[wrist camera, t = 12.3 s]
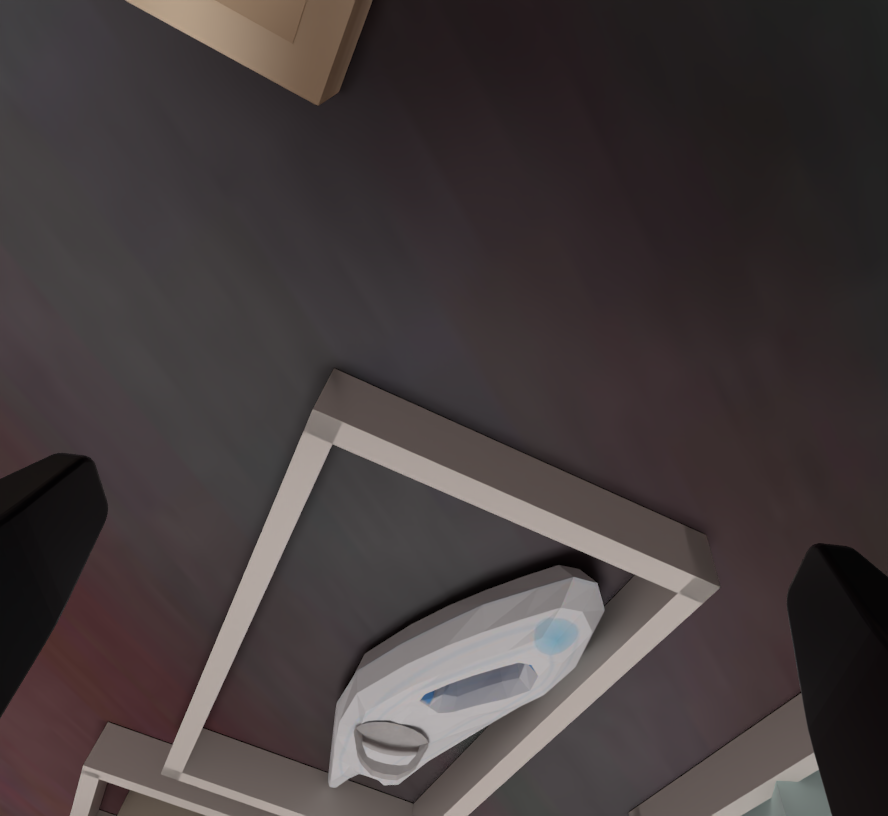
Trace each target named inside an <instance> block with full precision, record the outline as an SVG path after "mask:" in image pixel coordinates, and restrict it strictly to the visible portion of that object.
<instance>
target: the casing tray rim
mask: <svg viewBox="0 0 888 816" xmlns="http://www.w3.org/2000/svg"><path fill="white" fill-rule="evenodd" d="M332 444H333V445H336V446H338V447H340V448H343V449H345V450H347V451H350V452H352V453H354V454H357V455H359V456H361V457H364V458H366V459H368V460H371V461H373V462H375V463H377V464H380V465H382V466H384V467H387V468H389V469H391V470H394V471H396V472H398V473H401V474H403V475H405V476H408V477H410V478H412V479H415V480H417V481H419V482H421V483H424V484H426V485H428V486H431V487H433V488H435V489H438V490H440V491H442V492H445V493H447V494H449V495H452V496H454V497H456V498H459V499H461V500H463V501H465V502H468V503H470V504H472V505H475V506H477V507H479V508H482V509H484V510H486V511H489V512H491V513H493V514H496V515H498V516H500V517H503V518H505V519H507V520H509V521H512V522H514V523H516V524H519V525H521V526H523V527H526V528H528V529H530V530H533V531H535V532H537V533H540V534H542V535H544V536H547V537H549V538H551V539H554V540H556V541H558V542H560V543H563V544H565V545H567V546H570V547H572V548H574V549H577V550H579V551H581V552H584V553H586V554H588V555H591V556H593V557H595V558H598V559H600V560H602V561H604V562H607V563H609V564H611V565H614V566H616V567H618V568H621V569H623V570H625V571H628V572H630V573H632V574H635V576H634V577H633V578H632V579H631V580H630V581H629V582H628V583H627V584H626V585H625V586H624V587H623V588H622V589H621V590H620V591H619V592H618V593H617V594H616V595H615V596H614V597H613V598H612V599H611V600H610V601H609V602H608V603H607V604H606V605H605V607H604V609H605V611H604V613H603V615H602V617H601V619H600V621H599V623H598V625H597V626H596V628H595V630H594V632H593V634H592V636H591V638H590V640H589V642H588V644H587V646H586V648H585V650H584V652H583V654H582V656H581V658H580V660H579V662H578V663H577V665H576V667H575V668H574V669H573V670H572V671H571V672H570V673H568V674H567V675H566V676H565V677H564V678H563V679H562V680H561V681H559V682H558V683H557V684H556V685H555V686H554V687H553V688H552V689H550V690H549V691H548V692H547V693H546V694H545V695H543V696H541V697H539V698H537V699H535V700H533V701H531V702H529V703H527V704H525V705H523V706H521V707H519V708H517V709H515V710H514V711H512V712H510V713H508V714H507V715H505V716H503V717H502V718H500V719H498V720H496V721H495V722H493V723H491V724H490V725H489V726H488V727H487V728H486V729H485V730H484V731H483V732H482V734H481V735H480V736H479V737H478V738H477V739H476V740H475V741H474V742H473V743H472V744H471V745H470V746H469V747H468V748H467V749H466V750H465V751H464V752H463V753H462V754H461V755H460V756H459V757H458V758H457V759H456V760H455V761H454V762H453V763H452V764H451V766H450V767H449V768H448V769H447V770H446V771H445V772H444V773H443V774H442V775H441V776H440V777H439V778H438V779H437V780H436V781H435V782H434V783H433V784H432V785H431V786H430V787H429V788H428V789H427V790H426V791H425V792H424V793H423V794H422V795H421V797H420V798H419V799H418V800H417V801H416V802H415V803H414V804H413V803H410V802H407V801H404V800H402V799H399V798H396V797H393V796H391V795H388V794H385V793H382V792H379V791H377V790H374V789H371V788H368V787H365V786H363V785H360V784H357V783H354V782H352V781H349V780H346V781H345V782H343V783H342V784H341V785H339V786H338V787H336V788H332V787H330V786H329V783H328V774H329V773H327V772H324V771H321V770H318V769H315V768H313V767H310V766H307V765H304V764H301V763H299V762H296V761H293V760H290V759H288V758H285V757H282V756H279V755H276V754H274V753H271V752H268V751H265V750H262V749H260V748H257V747H254V746H251V745H249V744H246V743H243V742H240V741H237V740H235V739H232V738H229V737H226V736H223V735H221V734H218V733H215V732H212V731H210V730H207V729H204V728H203V726H204V723H205V721H206V719H207V717H208V715H209V713H210V710H211V708H212V706H213V704H214V702H215V699H216V697H217V695H218V693H219V691H220V689H221V686H222V684H223V682H224V680H225V678H226V675H227V673H228V671H229V669H230V667H231V664H232V662H233V660H234V658H235V656H236V654H237V651H238V649H239V647H240V645H241V643H242V640H243V638H244V636H245V634H246V632H247V630H248V627H249V625H250V623H251V621H252V619H253V616H254V614H255V612H256V610H257V608H258V606H259V603H260V601H261V599H262V597H263V595H264V592H265V590H266V588H267V586H268V584H269V581H270V579H271V577H272V575H273V573H274V571H275V568H276V566H277V564H278V562H279V560H280V557H281V555H282V553H283V551H284V549H285V547H286V544H287V542H288V540H289V538H290V536H291V533H292V531H293V529H294V527H295V525H296V523H297V520H298V518H299V516H300V514H301V512H302V509H303V507H304V505H305V503H306V501H307V498H308V496H309V494H310V492H311V490H312V488H313V485H314V483H315V481H316V479H317V477H318V474H319V472H320V470H321V468H322V466H323V464H324V461H325V459H326V457H327V455H328V453H329V450H330V448H331V446H332ZM719 588H720V583H719V580H718V576H717V572H716V569H715V565H714V561H713V558H712V554H711V550H710V547H709V543H708V539H707V536H706V535H705V534H702V533H700V532H698V531H696V530H694V529H691V528H689V527H687V526H685V525H682V524H680V523H678V522H676V521H673V520H671V519H669V518H667V517H665V516H662V515H660V514H658V513H656V512H653V511H651V510H649V509H647V508H644V507H642V506H640V505H638V504H636V503H633V502H631V501H629V500H627V499H624V498H622V497H620V496H618V495H615V494H613V493H611V492H609V491H607V490H604V489H602V488H600V487H598V486H595V485H593V484H591V483H589V482H587V481H584V480H582V479H580V478H578V477H575V476H573V475H571V474H569V473H566V472H564V471H562V470H560V469H558V468H555V467H553V466H551V465H549V464H546V463H544V462H542V461H540V460H537V459H535V458H533V457H531V456H529V455H526V454H524V453H522V452H520V451H517V450H515V449H513V448H511V447H508V446H506V445H504V444H502V443H500V442H497V441H495V440H493V439H491V438H488V437H486V436H484V435H482V434H479V433H477V432H475V431H473V430H471V429H468V428H466V427H464V426H462V425H459V424H457V423H455V422H453V421H451V420H448V419H446V418H444V417H442V416H439V415H437V414H435V413H433V412H430V411H428V410H426V409H424V408H422V407H419V406H417V405H415V404H413V403H410V402H408V401H406V400H404V399H401V398H399V397H397V396H395V395H393V394H390V393H388V392H386V391H384V390H381V389H379V388H377V387H375V386H372V385H370V384H368V383H366V382H364V381H361V380H359V379H357V378H355V377H352V376H350V375H348V374H346V373H343V372H341V371H339V370H337V369H335V368H334V369H333V371H332V373H331V375H330V377H329V379H328V381H327V383H326V384H325V386H324V388H323V390H322V392H321V394H320V396H319V398H318V400H317V402H316V404H315V406H314V408H313V410H312V412H311V415H310V417H309V420H308V422H307V424H306V427H305V429H304V431H303V434H302V436H301V439H300V441H299V443H298V446H297V448H296V451H295V453H294V455H293V458H292V460H291V463H290V465H289V467H288V470H287V472H286V475H285V477H284V479H283V482H282V484H281V487H280V489H279V491H278V494H277V496H276V499H275V501H274V503H273V506H272V508H271V511H270V513H269V515H268V518H267V520H266V523H265V525H264V527H263V530H262V532H261V535H260V537H259V539H258V542H257V544H256V547H255V549H254V551H253V554H252V556H251V559H250V561H249V563H248V566H247V568H246V571H245V573H244V575H243V578H242V580H241V583H240V585H239V587H238V590H237V592H236V594H235V597H234V599H233V602H232V604H231V606H230V609H229V611H228V614H227V616H226V618H225V621H224V623H223V626H222V628H221V630H220V633H219V635H218V638H217V640H216V642H215V645H214V647H213V650H212V652H211V654H210V657H209V659H208V662H207V664H206V666H205V669H204V671H203V674H202V676H201V678H200V681H199V683H198V686H197V688H196V690H195V693H194V695H193V698H192V700H191V702H190V705H189V707H188V710H187V712H186V714H185V717H184V719H183V722H182V724H181V726H180V729H179V731H178V734H177V736H176V738H175V741H174V743H173V746H172V748H171V750H170V753H169V755H168V757H167V760H166V762H165V765H164V767H163V769H162V772H161V775H164V776H167V777H170V778H173V779H175V780H178V781H181V782H184V783H187V784H190V785H193V786H196V787H199V788H201V789H204V790H207V791H210V792H213V793H216V794H219V795H222V796H225V797H227V798H230V799H233V800H236V801H239V802H242V803H245V804H248V805H251V806H253V807H256V808H259V809H262V810H265V811H268V812H271V813H274V814H277V815H279V816H468V815H469V814H470V813H471V812H472V811H473V810H474V809H475V808H477V807H478V806H479V805H480V804H481V803H482V802H483V801H484V800H485V799H487V798H488V797H489V796H490V795H491V794H492V793H493V792H494V791H495V790H497V789H498V788H499V787H500V786H501V785H502V784H503V783H504V782H505V781H506V780H508V779H509V778H510V777H511V776H512V775H513V774H514V773H515V772H516V771H518V770H519V769H520V768H521V767H522V766H523V765H524V764H525V763H526V762H528V761H529V760H530V759H531V758H532V757H533V756H534V755H535V754H536V753H538V752H539V751H540V750H541V749H542V748H543V747H544V746H545V745H546V744H548V743H549V742H550V741H551V740H552V739H553V738H554V737H555V736H556V735H557V734H559V733H560V732H561V731H562V730H563V729H564V728H565V727H566V726H567V725H569V724H570V723H571V722H572V721H573V720H574V719H575V718H576V717H577V716H579V715H580V714H581V713H582V712H583V711H584V710H585V709H586V708H587V707H589V706H590V705H591V704H592V703H593V702H594V701H595V700H596V699H597V698H598V697H600V696H601V695H602V694H603V693H604V692H605V691H606V690H607V689H608V688H610V687H611V686H612V685H613V684H614V683H615V682H616V681H617V680H618V679H620V678H621V677H622V676H623V675H624V674H625V673H626V672H627V671H628V670H630V669H631V668H632V667H633V666H634V665H635V664H636V663H637V662H638V661H639V660H641V659H642V658H643V657H644V656H645V655H646V654H647V653H648V652H649V651H651V650H652V649H653V648H654V647H655V646H656V645H657V644H658V643H659V642H661V641H662V640H663V639H664V638H665V637H666V636H667V635H668V634H669V633H671V632H672V631H673V630H674V629H675V628H676V627H677V626H678V625H679V624H681V623H682V622H683V621H684V620H685V619H686V618H687V617H688V616H689V615H690V614H692V613H693V612H694V611H695V610H696V609H697V608H698V607H699V606H700V605H702V604H703V603H704V602H705V601H706V600H707V599H708V598H709V597H710V596H712V595H713V594H714V593H715V592H716V591H717V590H718V589H719Z"/></svg>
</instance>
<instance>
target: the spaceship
mask: <svg viewBox="0 0 888 816" xmlns="http://www.w3.org/2000/svg"><path fill="white" fill-rule="evenodd" d="M604 611H605V609H604V605H603V602H602V598H601V594H600V591H599V587H598V583H597V582H595V581H594V580H593V579H591V578H590V577H589V576H588V575H586V574H585V573H584V572H582V571H581V570H580V569H577V568H572V567H567V566H562V565H557V566H554V567H551V568H548V569H545V570H542V571H539V572H536V573H532V574H529V575H526V576H523V577H521V578H518V579H515V580H512V581H510V582H507V583H504V584H501V585H498V586H496V587H493V588H490V589H487V590H485V591H482V592H480V593H478V594H475V595H473V596H470V597H468V598H466V599H463V600H461V601H458V602H456V603H454V604H451V605H449V606H447V607H445V608H443V609H441V610H439V611H437V612H435V613H433V614H431V615H429V616H427V617H425V618H423V619H421V620H419V621H417V622H415V623H413V624H411V625H409V626H408V627H406V628H405V629H403V630H401V631H400V632H398V633H397V634H395V635H393V636H392V637H390V638H389V639H387V640H386V641H384V642H382V643H381V644H379V645H378V646H376V647H374V648H373V649H371V650H370V651H368V652H367V653H365V654H364V656H363V658H362V660H361V662H360V664H359V666H358V668H357V670H356V672H355V674H354V676H353V678H352V680H351V681H350V683H349V684H348V686H347V687H346V689H345V691H344V692H343V694H342V695H341V697H340V698H339V700H338V702H337V705H336V711H335V718H334V727H333V737H332V746H331V755H330V764H329V774H328V783H329V786H330V787H332V788H336V787H338V786H339V785H341V784H342V783H343V782H345V781H346V780H348V779H349V778H351V777H353V776H355V775H358V774H362V775H365V776H368V777H371V778H374V779H376V780H379V781H380V782H381V783H382V784H383V785H398V784H400V783H401V782H402V781H403V780H405V779H406V778H407V777H409V776H410V775H411V774H412V773H414V772H415V771H416V770H417V769H419V768H420V767H421V766H423V765H424V764H425V763H426V762H428V761H429V760H431V759H433V758H434V757H436V756H438V755H439V754H441V753H443V752H444V751H446V750H448V749H449V748H451V747H453V746H454V745H456V744H458V743H459V742H461V741H463V740H464V739H466V738H468V737H469V736H471V735H473V734H474V733H476V732H478V731H479V730H481V729H483V728H484V727H486V726H488V725H490V724H491V723H493V722H495V721H496V720H498V719H500V718H502V717H503V716H505V715H507V714H508V713H510V712H512V711H514V710H515V709H517V708H519V707H521V706H523V705H525V704H527V703H529V702H531V701H533V700H535V699H537V698H539V697H541V696H543V695H545V694H546V693H547V692H548V691H549V690H550V689H552V688H553V687H554V686H555V685H556V684H557V683H558V682H559V681H561V680H562V679H563V678H564V677H565V676H566V675H567V674H568V673H570V672H571V671H572V670H573V669H574V668H575V667H576V665H577V663H578V662H579V660H580V658H581V656H582V654H583V652H584V650H585V648H586V646H587V644H588V642H589V640H590V638H591V636H592V634H593V632H594V630H595V628H596V626H597V625H598V623H599V621H600V619H601V617H602V615H603V613H604Z"/></svg>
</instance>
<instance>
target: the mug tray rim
mask: <svg viewBox="0 0 888 816" xmlns="http://www.w3.org/2000/svg"><path fill="white" fill-rule="evenodd" d="M172 746H173V745H172V744H169V743H166V742H163V741H160V740H157V739H155V738H152V737H149V736H146V735H143V734H140V733H138V732H135V731H132V730H129V729H126V728H123V727H121V726H118V725H115V724H112V723H109V722H108V723H107V725H106V726H105V728H104V730H103V732H102V733H101V735H100V737H99V739H98V740H97V742H96V744H95V746H94V747H93V749H92V751H91V753H90V754H89V756H88V758H87V760H86V761H85V763H84V765H83V768H82V772H81V776H80V780H79V783H78V787H77V791H76V795H75V799H74V803H73V806H72V810H71V814H70V816H116V815H113V814H110V813H107V812H104V811H101V810H99V808H100V805H101V801H102V798H103V795H104V792H105V789H106V786H107V783H108V782H109V783H112V784H115V785H118V786H120V787H123V788H126V789H129V790H132V791H135V792H138V793H141V794H144V795H147V796H150V797H153V798H156V799H159V800H162V801H164V802H167V803H170V804H173V805H176V806H179V807H182V808H185V809H188V810H191V811H194V812H197V813H200V814H203V815H206V816H279V815H277V814H274V813H271V812H268V811H265V810H262V809H259V808H256V807H253V806H251V805H248V804H245V803H242V802H239V801H236V800H233V799H230V798H227V797H225V796H222V795H219V794H216V793H213V792H210V791H207V790H204V789H201V788H199V787H196V786H193V785H190V784H187V783H184V782H181V781H178V780H175V779H173V778H170V777H167V776H164V775H161V772H162V769H163V767H164V765H165V762H166V760H167V757H168V755H169V753H170V750H171V748H172Z"/></svg>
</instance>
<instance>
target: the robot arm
mask: <svg viewBox="0 0 888 816" xmlns="http://www.w3.org/2000/svg"><path fill="white" fill-rule="evenodd" d="M107 512H108V503H107V499H106V496H105V493H104V490H103V487H102V484H101V481H100V477H99V474H98V471H97V468H96V465H95V463H94V461H93V460H92V459H91V458H90V457H87V456H84V455H76V454H68V453H57V454H53V455H51V456H49V457H47V458H44V459H42V460H40V461H38V462H36V463H34V464H31V465H29V466H27V467H25V468H23V469H21V470H19V471H16V472H14V473H12V474H10V475H8V476H6V477H3V478H1V479H0V718H1V716H2V714H3V713H4V711H5V709H6V708H7V706H8V704H9V703H10V701H11V699H12V698H13V696H14V694H15V693H16V691H17V689H18V688H19V686H20V684H21V683H22V681H23V680H24V678H25V676H26V675H27V673H28V671H29V670H30V668H31V666H32V665H33V663H34V661H35V660H36V658H37V656H38V655H39V653H40V651H41V650H42V648H43V646H44V645H45V643H46V641H47V640H48V638H49V636H50V634H51V633H52V631H53V629H54V627H55V626H56V624H57V622H58V620H59V618H60V616H61V614H62V612H63V610H64V608H65V606H66V604H67V602H68V600H69V598H70V596H71V593H72V591H73V589H74V587H75V585H76V583H77V581H78V579H79V576H80V574H81V572H82V570H83V568H84V566H85V564H86V562H87V559H88V557H89V555H90V553H91V551H92V549H93V547H94V545H95V542H96V540H97V538H98V536H99V534H100V532H101V530H102V528H103V525H104V523H105V521H106V517H107ZM787 611H788V617H789V623H790V629H791V635H792V641H793V647H794V653H795V659H796V665H797V671H798V677H799V683H800V689H801V695H802V701H803V707H804V712H805V717H806V722H807V727H808V732H809V735H810V739H811V743H812V747H813V751H814V754H815V758H816V762H817V765H818V769H819V772H820V776H821V779H822V783H823V786H824V790H825V793H826V797H827V800H828V804H829V807H830V811H831V814H832V816H888V577H887V576H886V575H885V574H884V573H882V572H881V571H880V570H879V569H878V568H876V567H875V566H874V565H873V564H872V563H870V562H869V561H868V560H867V559H866V558H864V557H863V556H862V555H861V554H860V553H858V552H857V551H856V550H854V549H853V548H850V547H847V546H840V545H832V544H823V543H818V544H814V545H813V546H811V547H810V548H809V550H808V551H807V553H806V555H805V557H804V559H803V561H802V563H801V565H800V567H799V569H798V571H797V573H796V575H795V577H794V579H793V581H792V583H791V585H790V587H789V590H788V594H787Z"/></svg>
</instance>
